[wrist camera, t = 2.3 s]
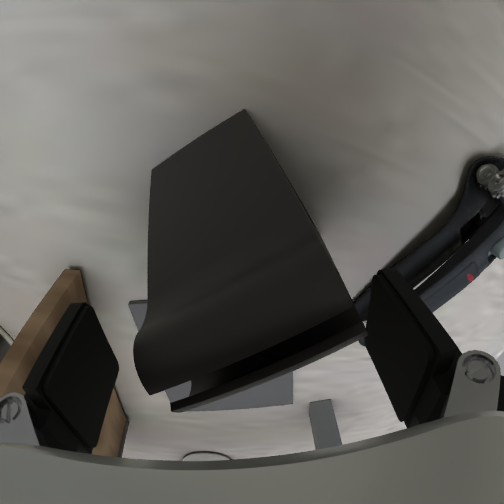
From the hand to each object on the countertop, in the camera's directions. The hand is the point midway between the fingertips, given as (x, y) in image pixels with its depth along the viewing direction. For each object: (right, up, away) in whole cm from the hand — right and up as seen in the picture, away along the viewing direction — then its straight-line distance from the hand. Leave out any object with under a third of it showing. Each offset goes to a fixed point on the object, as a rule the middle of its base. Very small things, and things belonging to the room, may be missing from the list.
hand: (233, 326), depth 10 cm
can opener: (+14, +4, +10) cm, 17 cm away
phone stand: (0, +5, +8) cm, 10 cm away
